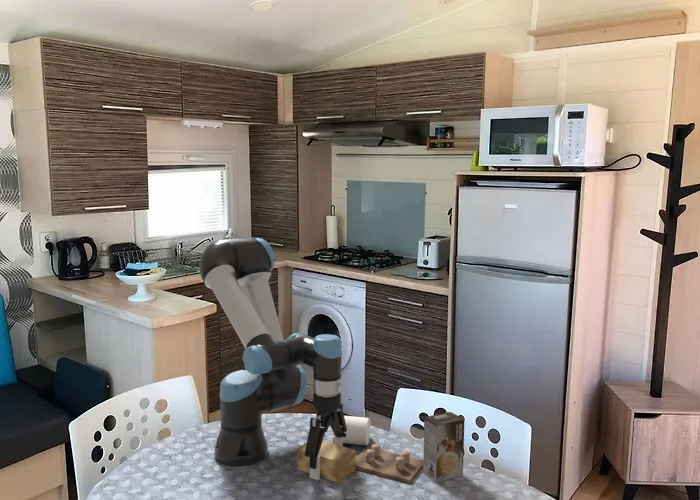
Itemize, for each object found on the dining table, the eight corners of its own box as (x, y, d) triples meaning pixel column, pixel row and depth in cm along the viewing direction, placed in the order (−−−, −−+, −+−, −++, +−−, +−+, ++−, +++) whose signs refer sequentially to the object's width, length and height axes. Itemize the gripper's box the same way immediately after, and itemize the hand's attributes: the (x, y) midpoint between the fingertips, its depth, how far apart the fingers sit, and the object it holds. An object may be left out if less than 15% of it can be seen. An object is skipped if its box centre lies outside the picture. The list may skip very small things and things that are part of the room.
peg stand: (349, 467, 162) (349, 453, 161) (368, 449, 172) (368, 437, 172) (409, 483, 154) (410, 469, 153) (425, 464, 164) (426, 450, 164)
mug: (365, 450, 172) (366, 424, 171) (332, 446, 174) (333, 421, 173) (372, 433, 184) (372, 409, 183) (341, 430, 186) (341, 406, 185)
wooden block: (296, 469, 161) (296, 448, 160) (313, 457, 168) (313, 438, 167) (339, 483, 154) (339, 462, 153) (355, 471, 160) (355, 450, 160)
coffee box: (449, 465, 164) (451, 410, 162) (463, 476, 158) (465, 419, 156) (421, 472, 160) (423, 416, 158) (435, 483, 154) (437, 425, 152)
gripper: (316, 410, 146) (315, 492, 148) (359, 381, 167) (358, 453, 169) (290, 404, 149) (290, 484, 152) (336, 377, 170) (335, 448, 173)
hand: (326, 468), depth 161 cm, fingers open, 12 cm apart
